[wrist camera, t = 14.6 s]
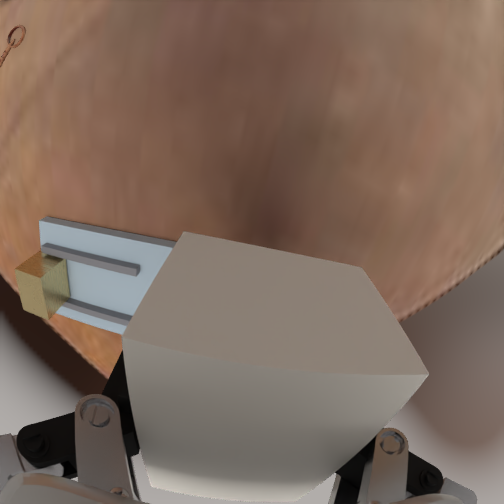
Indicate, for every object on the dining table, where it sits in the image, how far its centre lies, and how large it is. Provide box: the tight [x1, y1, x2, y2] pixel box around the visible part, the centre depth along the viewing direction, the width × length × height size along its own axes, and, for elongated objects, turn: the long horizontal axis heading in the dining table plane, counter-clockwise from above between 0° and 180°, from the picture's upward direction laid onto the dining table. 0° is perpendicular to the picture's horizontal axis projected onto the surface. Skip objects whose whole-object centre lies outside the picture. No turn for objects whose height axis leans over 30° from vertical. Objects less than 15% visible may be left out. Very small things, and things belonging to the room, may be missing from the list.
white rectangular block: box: [122, 231, 429, 502], centre depth 9 cm, size 9×6×5 cm, turn 168°
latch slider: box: [15, 251, 70, 320], centre depth 24 cm, size 5×4×5 cm
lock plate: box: [39, 217, 177, 335], centre depth 27 cm, size 12×26×2 cm, turn 78°
